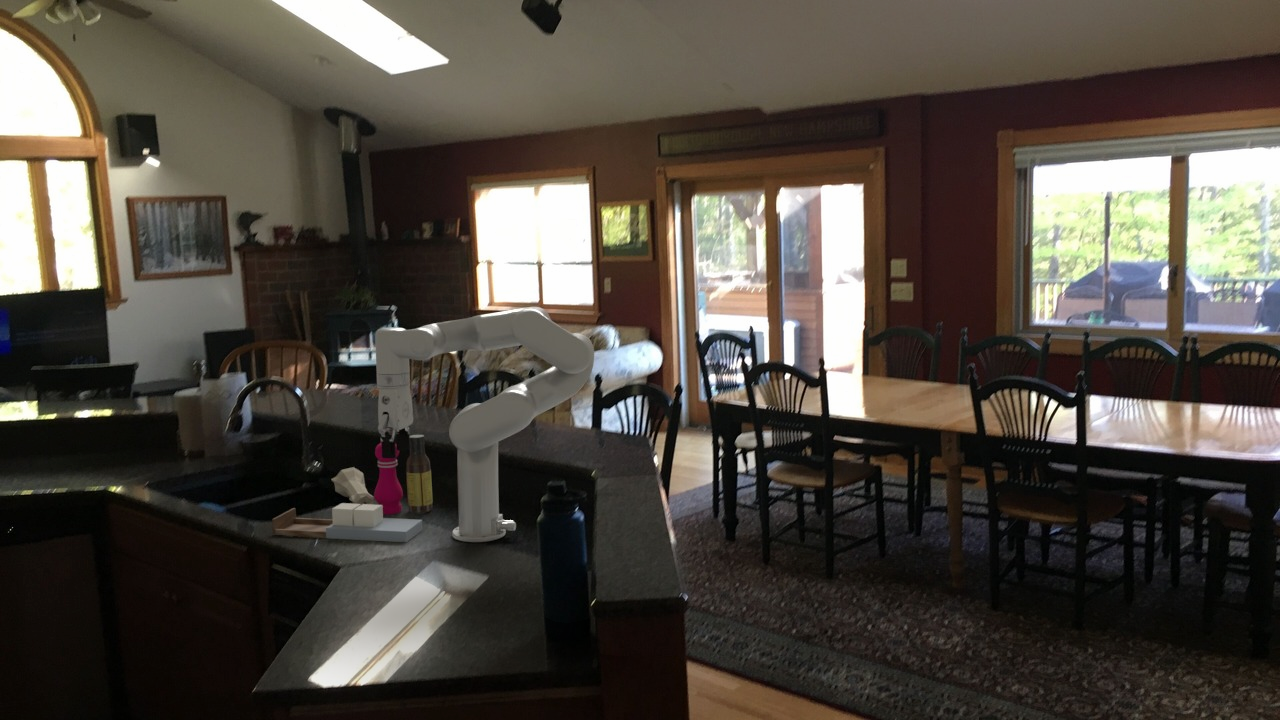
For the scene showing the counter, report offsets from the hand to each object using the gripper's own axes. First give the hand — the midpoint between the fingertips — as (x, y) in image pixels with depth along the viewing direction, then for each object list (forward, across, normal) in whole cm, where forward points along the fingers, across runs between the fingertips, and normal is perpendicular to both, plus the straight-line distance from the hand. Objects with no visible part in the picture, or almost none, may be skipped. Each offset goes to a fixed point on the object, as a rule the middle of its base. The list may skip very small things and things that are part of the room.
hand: (396, 453), depth 232 cm
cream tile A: (+17, 0, +8) cm, 19 cm away
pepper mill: (+20, +19, +11) cm, 30 cm away
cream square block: (+17, 0, +13) cm, 22 cm away
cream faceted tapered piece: (+20, +24, +23) cm, 39 cm away
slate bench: (+20, 0, +6) cm, 21 cm away
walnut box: (+20, 0, +23) cm, 30 cm away
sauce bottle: (+20, +21, +3) cm, 29 cm away
